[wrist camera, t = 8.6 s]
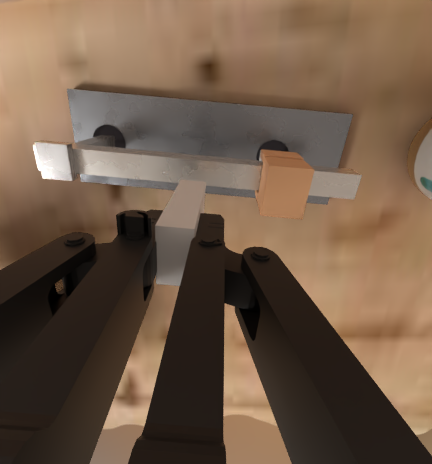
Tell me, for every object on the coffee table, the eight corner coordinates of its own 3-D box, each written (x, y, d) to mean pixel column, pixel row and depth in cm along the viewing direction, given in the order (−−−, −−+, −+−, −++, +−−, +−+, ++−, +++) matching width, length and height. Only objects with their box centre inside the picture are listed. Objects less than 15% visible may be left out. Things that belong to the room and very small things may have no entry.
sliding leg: (250, 172, 31) (260, 216, 19) (254, 137, 29) (269, 163, 18) (276, 175, 31) (302, 220, 19) (282, 140, 29) (315, 168, 18)
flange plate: (85, 178, 34) (80, 181, 33) (72, 89, 29) (65, 88, 28) (324, 201, 33) (327, 205, 32) (348, 113, 29) (353, 114, 28)
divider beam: (93, 152, 31) (32, 177, 22) (90, 127, 30) (24, 140, 20) (318, 173, 31) (356, 207, 21) (324, 148, 30) (368, 172, 20)
